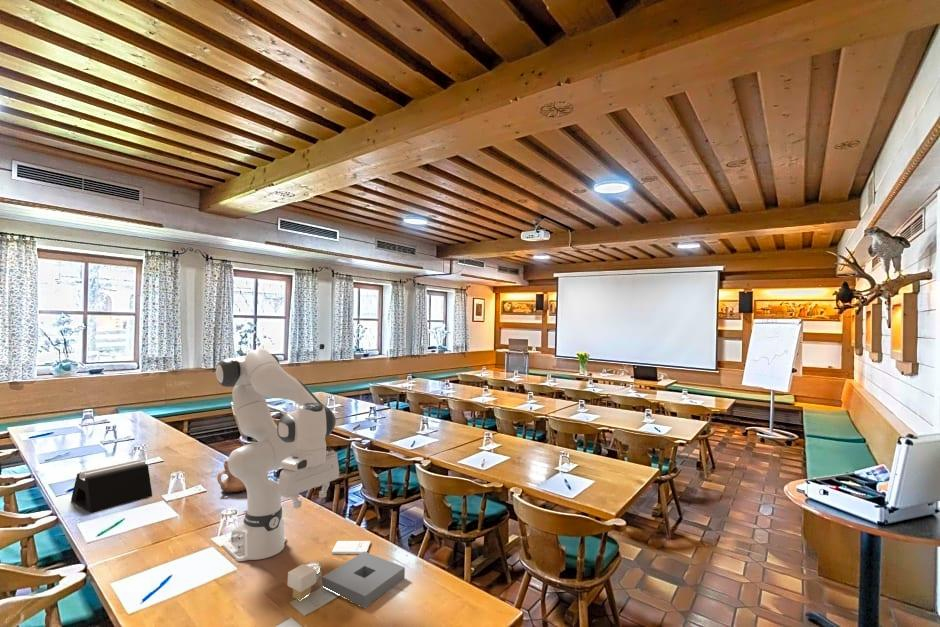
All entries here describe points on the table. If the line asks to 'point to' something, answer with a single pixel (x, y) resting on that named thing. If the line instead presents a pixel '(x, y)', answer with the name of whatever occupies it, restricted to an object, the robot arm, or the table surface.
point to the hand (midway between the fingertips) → (310, 502)
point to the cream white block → (301, 580)
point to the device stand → (112, 485)
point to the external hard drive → (351, 547)
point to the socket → (361, 589)
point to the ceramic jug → (230, 481)
